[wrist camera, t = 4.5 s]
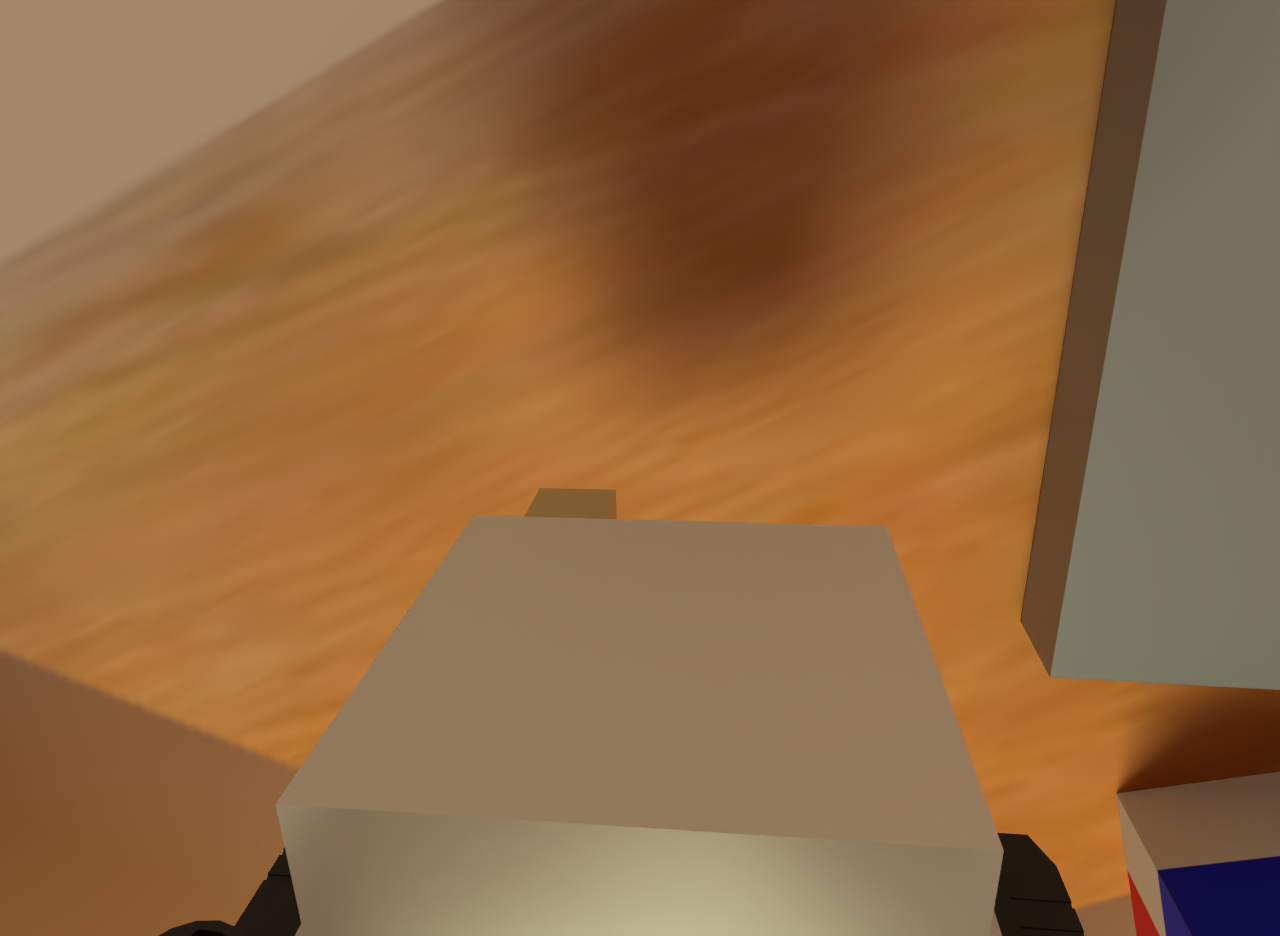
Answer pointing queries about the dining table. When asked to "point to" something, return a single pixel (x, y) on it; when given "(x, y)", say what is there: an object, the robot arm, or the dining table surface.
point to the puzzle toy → (1204, 857)
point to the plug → (647, 744)
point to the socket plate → (1171, 366)
